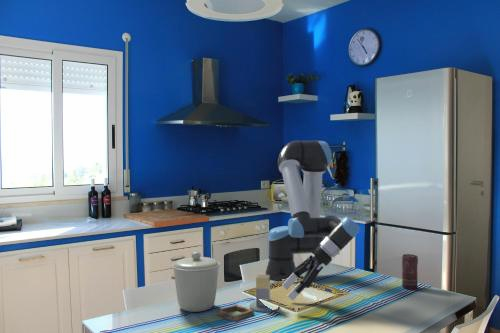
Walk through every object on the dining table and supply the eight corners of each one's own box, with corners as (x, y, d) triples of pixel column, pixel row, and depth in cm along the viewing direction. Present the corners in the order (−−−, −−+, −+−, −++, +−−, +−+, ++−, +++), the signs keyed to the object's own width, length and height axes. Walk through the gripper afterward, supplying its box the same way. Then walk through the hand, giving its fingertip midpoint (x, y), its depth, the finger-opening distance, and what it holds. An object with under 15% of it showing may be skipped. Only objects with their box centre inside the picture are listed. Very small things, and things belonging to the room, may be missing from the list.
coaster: (243, 307, 165) (243, 305, 165) (263, 300, 173) (263, 299, 173) (264, 314, 157) (264, 312, 157) (285, 307, 165) (285, 305, 165)
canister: (213, 317, 155) (212, 258, 154) (164, 314, 158) (164, 256, 158) (226, 301, 172) (225, 247, 172) (182, 298, 176) (181, 246, 176)
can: (420, 290, 185) (420, 256, 185) (405, 290, 185) (404, 256, 185) (415, 285, 191) (414, 253, 191) (400, 285, 191) (400, 253, 191)
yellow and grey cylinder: (256, 307, 163) (256, 277, 163) (258, 303, 168) (257, 274, 168) (268, 307, 162) (268, 278, 162) (270, 303, 167) (269, 275, 167)
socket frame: (216, 314, 157) (216, 310, 157) (236, 308, 164) (236, 304, 164) (234, 321, 151) (234, 317, 151) (253, 314, 157) (253, 310, 157)
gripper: (341, 266, 154) (300, 310, 153) (324, 251, 179) (288, 289, 178) (326, 251, 154) (284, 295, 153) (311, 238, 178) (275, 276, 178)
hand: (286, 292), depth 165 cm, fingers open, 13 cm apart
